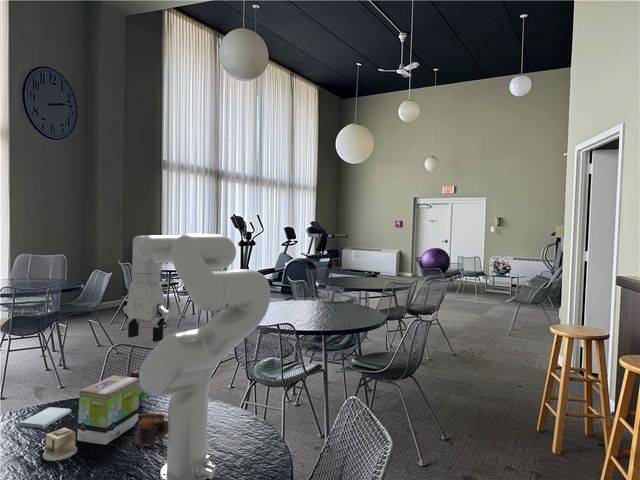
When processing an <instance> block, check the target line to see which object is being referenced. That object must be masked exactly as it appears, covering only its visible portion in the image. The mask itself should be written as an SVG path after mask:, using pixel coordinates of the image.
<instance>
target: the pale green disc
mask: <svg viewBox="0 0 640 480" xmlns="http://www.w3.org/2000/svg"><path fill="white" fill-rule="evenodd" d="M76 453H78V447H77V446H76V445H75V450H74V451H72V452H69V453H67V454H65V455H62V456H60V457H58V458H56V457H54V456H51V455H49V454H47V453H46V450H45V451H44V452H43V453H42V458H43V460H45V461H49V462H55V461H56V460H58V461H63V460H65V459H68V457H69V458H71V457H72V455H73V456H75V454H76ZM62 459H63V460H62ZM56 462H57V461H56Z"/></svg>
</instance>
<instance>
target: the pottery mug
mask: <svg viewBox="0 0 640 480" xmlns="http://www.w3.org/2000/svg"><path fill="white" fill-rule="evenodd" d="M133 427H135V428H137V427H138V428H139V435H136V436H134V444H135V445H155V444H156V440H162V439H163V438H164V437H165V436H166V435H168V420H165V415H164V414H160V413H145V414H140V415H138V420H137V421H136V423H135V424H134V426H133Z"/></svg>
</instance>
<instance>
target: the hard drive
mask: <svg viewBox="0 0 640 480" xmlns="http://www.w3.org/2000/svg"><path fill="white" fill-rule="evenodd" d="M71 413H72V409H71V408H64V407H62V408H61V407H55V406H54V407H53V406H52V407H51V406H49V407H47V408H46V409H43V410H42V411H40V412H38V413H36V414H34V415H32V416H30V417H28V418H26V419H24V420H22V421H19V423H18V427H26V428H27V427H28V428H37V429H44V428H47V427H48V426H49V425H51V424H53V423H55V422H56V421H58V420H61V418H63V417H65V416H67V415H68V414H71Z"/></svg>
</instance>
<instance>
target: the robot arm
mask: <svg viewBox="0 0 640 480" xmlns="http://www.w3.org/2000/svg"><path fill="white" fill-rule="evenodd" d="M236 256H237V249H236V245H235V243H234V242H233V240H231V239H230V238H229V237H227V236H225V235H223V234H216V233H185V234H182V235H173V234H171V235H167V234H166V235H162V234H161V235H159V234H158V235H157V234H155V235H154V234H153V235H152V234H151V235H137V236H134V237H133V240H132V268H131V269H132V270H131V272H132V273H131V283H130V284H129V289H128V293H127V294H128V295H127V301H126V302H127V303H126V305H124V306H123V308H122V309H123V312H124V317H125V319H126V323H127V325H128V326H127V329H128V330H127V333H128V334H127V337H128V338H135V337H138V336H139V335H140V334H139V326H140V323H139V321H138V320H140V321H146V322H147V321H148V322H149V321H151V323H152V324H153V325H154V327H152V342H154V343H157V344H156V345H155V346H154V347H153V349H152V350H151V351H150V352H149V354H148V355H147V356H146V357H145V358H144V360H143V362H142V364H141V367H140V369H139V381H140V385H141V387H142V389H143V390H144V392H145V393H146V395H149V396H152V397H160V396H163V395H168V394H171V393H172V395H171V397H170V399H169V403H168V409H167V410H168V411H167V413H168V414H167V421H168V433H167V443H166V444H167V445H166V446H167V449H166V450H167V451H166V453H167V454H166V455H167V456H166V463H165V464H164V465H163V466H162V468H160V471H159V472H160V473H159V477H160V480H207V479H210V480H211V479H213V478H214V475H215V472H216V471H217V468H218V467H217V465H215V464H212V462H211V460H210V455H209V454H207V446H208V444H207V442H208V441H207V438H208V410H209V409H208V408H209V391H210V384H211V380H212V376H213V372H214V371H213V370H214V369H213V368H214V367H215V366H217V365H219V363H221V362H222V361H223V360H224V359H225V358H226V357H227V356H228V355H229V354H230V353H231V352H232V351H233V350H234V349H235V348H236V347H238V346H239V344H240V343H241V342H242V341H244V339H245V338H247V337H248V336H249V335H250V334H251V333H253V332H254V330H256V329H257V327H259V325H260V324H261V323H262V321H263V320H264V318H265V316H266V314H267V313H268V312H267V311H268V310H269V306H270V302H271V287H270V282H269V281H268V279H267V277H266V276H265V275H264V274H262V273H261V272H259V271H256V270H253V269H248V268H247V269H245V268H244V269H243V268H242V269H241V268H239V269H226V268H227V267H229V266H231V264H233V262H234V261H235V258H236ZM164 263H166V264H167V263H172V264H173V266H174V269H175V272H176V274H177V275H178V277H179V278H180V280H181V283H182V284H183V286H184V288H185V290H186V293H187V294H188V296H189V298H190V300H191V302H192V303H193V305H194V306H195V307H196V308H197V309H198V310H201V311H204V312H217V311H218V312H217V313H216V314H214V316H213V317H211V319H210V320H209V321H208V322H207V323H205V325H203V326H202V327H199V328H193V329H188V330H183V331H182V330H181V331H175V332H173V333H170V334H169V335H166V336H164V327H165V326H166V323H168V320H169V317H170V315H171V313H170V311H169V310H167V308H166V307H164V294H163V293H164V292H163V288H162V284H161V274H162V273H161V270H162V269H161V267H162V266H161V264H164Z"/></svg>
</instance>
